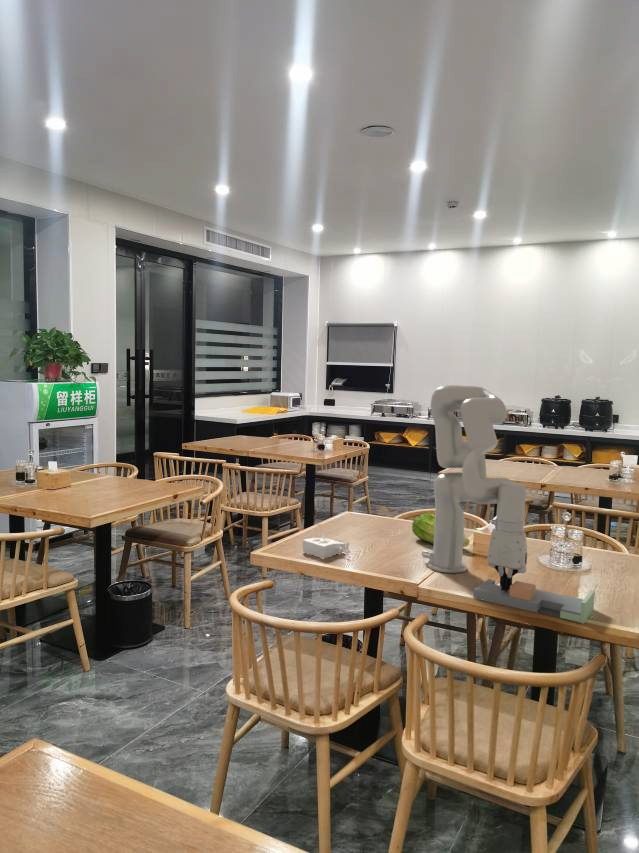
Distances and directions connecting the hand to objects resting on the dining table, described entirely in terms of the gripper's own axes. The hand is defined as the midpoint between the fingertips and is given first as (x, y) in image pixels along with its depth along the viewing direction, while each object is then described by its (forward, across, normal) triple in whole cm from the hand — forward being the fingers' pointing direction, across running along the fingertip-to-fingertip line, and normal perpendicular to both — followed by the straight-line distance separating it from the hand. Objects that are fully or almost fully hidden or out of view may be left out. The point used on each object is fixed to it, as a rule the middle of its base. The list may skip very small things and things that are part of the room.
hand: (505, 589), depth 182 cm
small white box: (+4, -65, +8) cm, 65 cm away
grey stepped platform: (+3, +7, +3) cm, 8 cm away
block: (+1, +5, 0) cm, 5 cm away
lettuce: (+3, -38, +44) cm, 59 cm away
